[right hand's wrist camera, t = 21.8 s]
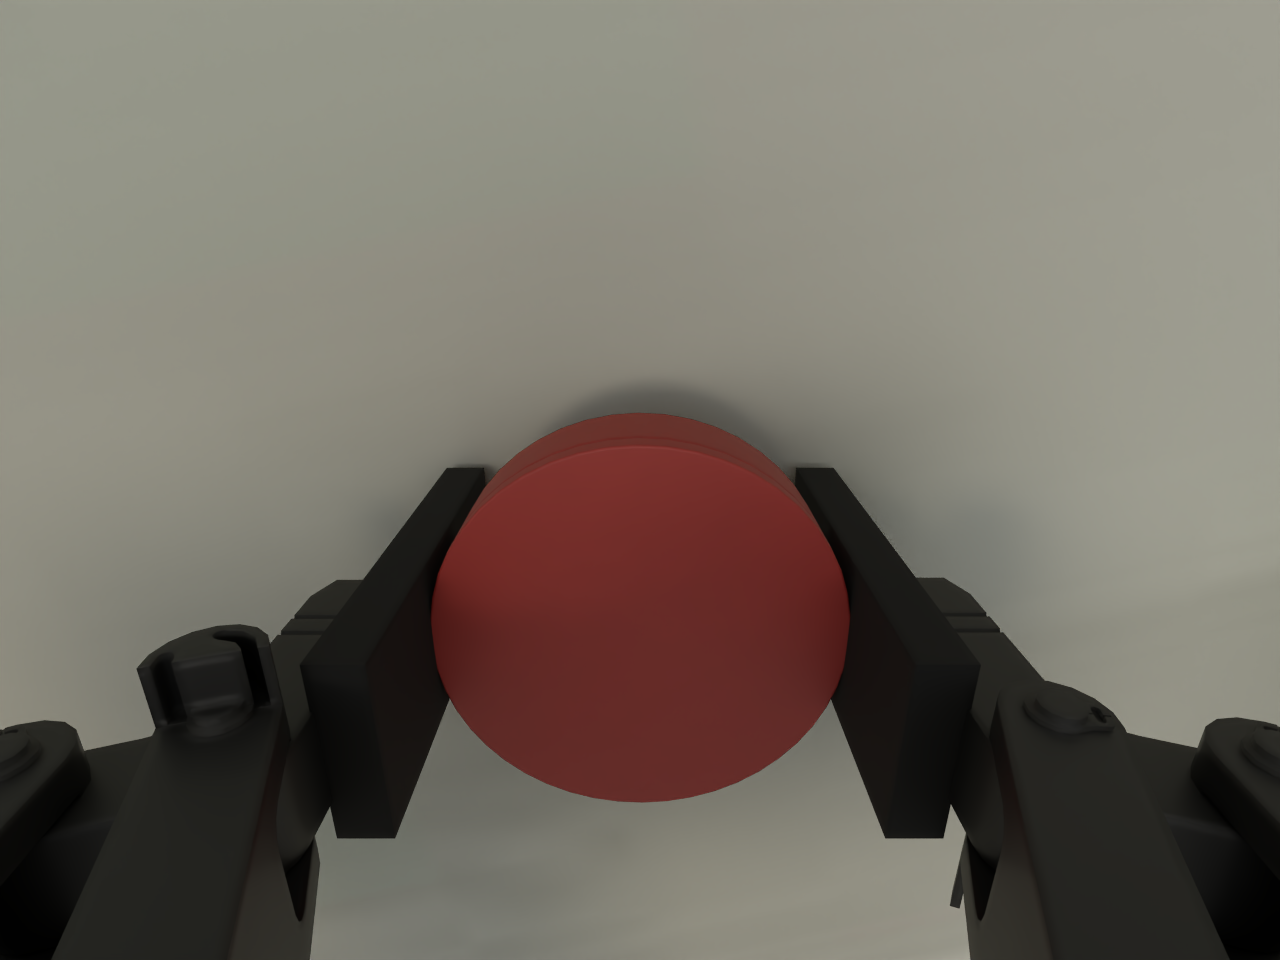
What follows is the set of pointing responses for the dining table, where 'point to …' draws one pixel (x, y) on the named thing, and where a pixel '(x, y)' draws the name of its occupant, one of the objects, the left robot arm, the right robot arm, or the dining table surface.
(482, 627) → the lid
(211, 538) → the dining table surface
